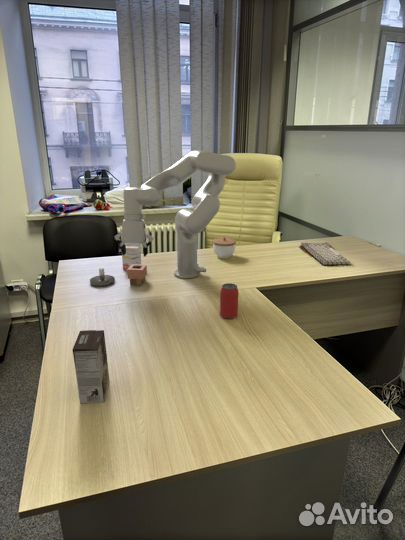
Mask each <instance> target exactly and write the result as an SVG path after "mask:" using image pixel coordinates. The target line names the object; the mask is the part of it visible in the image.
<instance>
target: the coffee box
mask: <svg viewBox="0 0 405 540" xmlns="http://www.w3.org/2000/svg"><path fill="white" fill-rule="evenodd" d="M72 355H73V356H72V357H73V362H74V369H75V376H76V384H77V391H78V399H79V404H94V403H95V404H98V403H104V402H105V401H106V396H107V392H108V389H109V388H108V387H109V383H110V374H109V364H108V353H107V345H106V336H105V330H104V329H101V330H97V329H93V330H91V329H88V330H79V333H78V334H77V337H76V340H75V343H74V345H73V348H72Z"/></svg>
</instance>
